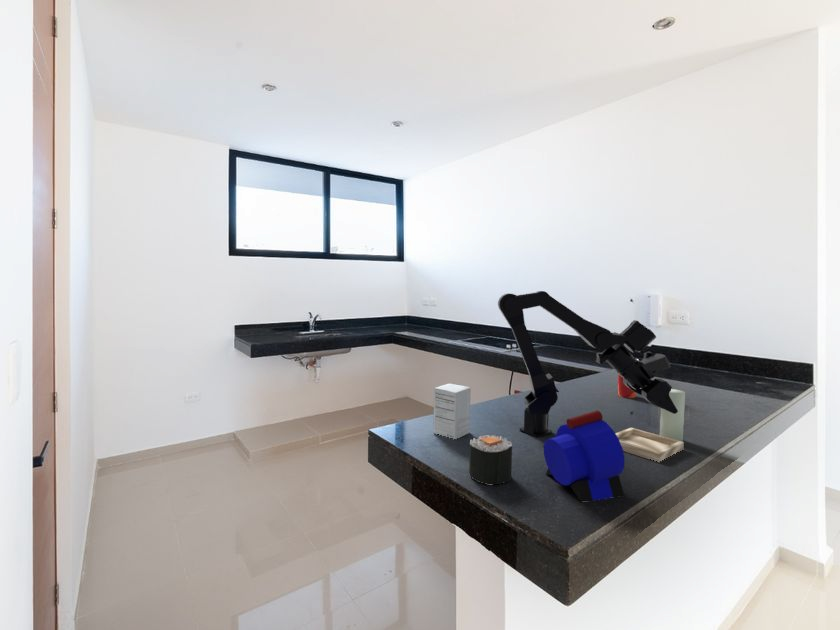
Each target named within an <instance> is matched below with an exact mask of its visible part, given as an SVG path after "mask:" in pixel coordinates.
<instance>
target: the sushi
mask: <svg viewBox="0 0 840 630" xmlns="http://www.w3.org/2000/svg"><path fill="white" fill-rule="evenodd" d="M469 441H470V442H469V460H468V461H469V462H468V463H469V465H468V466H469V467H468V468H469V469H468V470H469V471H468V475H469V474H470V476H471V477H473V478H474V479H476V480H478V481H480V482H483V483H487V484H499V485H501V484H500V483H503V482H507V481H509V480H510V479H511V480H512V471H513V470H512V467H513V464H512V463H513V460H512V459H513V442H511V441H510V440H508V439H507V438H506V437H504V438H503V436H501V435H500V436H499V435H498V436H496V435H493V434H492V435H489V434H487V435H485V434H484V435H479V437H478V438H475V437H473V439H470V440H469ZM470 476H469V477H470ZM511 480H510V481H511ZM510 481H509V482H510ZM507 483H508V482H507ZM503 484H504V483H503Z"/></svg>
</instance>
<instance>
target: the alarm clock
mask: <svg viewBox="0 0 840 630" xmlns="http://www.w3.org/2000/svg"><path fill="white" fill-rule="evenodd" d="M603 419H604V418H603V414H602V412H601V411H600V410H595V411H591V412H588V413H584V414H580V415H577V416H574V417H570V418H567V419H566V424H562V425H560V426H559V427H558V429H557V431H556V434H555V435H556V436H554V437H550V438H549V439H546V440H545V441H544V444H543V455H544V460H545V463H546V466H547V468H548V469H547V470H546V473H545V475H546V474H547V475H548V476H549V475H551V476H552V477H553V479H555V481H557V483H559V484H560V485H562V486H570V487H569V488H571V490H572V491H573V492H574V494H575V496H576V497H577V498H578V500H579V501H580V500H581V501H592V502H594V501H593V500H598V501H600V500H599V499H605V498H610V497H617V498H619V497H618V496H624V497H625V491H624V490H623V489H624V488H623V486H622V483H621V479H620V476H619V475H621V474H623V471H624V468H625V455H624V451H623V449H622V446H621V444H620V441H619V439H618V437H617V435H616V434H615V433H616V432H615V431H614V429H613V428H612V427H611V426H610V425H609V424H608V423H607V422H606V421H605V420H603ZM547 475H546V476H547ZM605 500H606V499H605ZM581 501H580V502H581Z"/></svg>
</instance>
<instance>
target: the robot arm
mask: <svg viewBox="0 0 840 630" xmlns="http://www.w3.org/2000/svg"><path fill="white" fill-rule="evenodd" d="M497 306H498V310H500V313H501V314H502V315H503V318H504V319H505V320H506V322H507V324H508V326H509V327H510V328H511V331H512V334H513V337H514V339H515V341H516V343H517V346H518V348H519V352H520V354H521V356H522V359H523V362H524V364H525V366H526V369H527V372H528V376H529V384H530V390H531V391H530V392H529V393H528V394H527V395H525V396H524V397H523V400H524V404H525V406H526V407H525V409H524V415H523V427H519V429H518V430H519V431H520V432H523V433H526V434H528V435H532V436H534V437H536V438H537V437H538V438H539V437H542V436H546V435H548V434H551V433H553V430H552V429H550V428H549V415H550V414H549V412H550V410H551V408H552V407H553V406H555V404H556V403H557V402H558V400H559V399H558V398H559V397H558V393H559V392H560V390H558V389H557V386H556V384H555V378H554V376H552V375H551V374H550V373H547V374H546V373H545V372H544V370H543V368H542V364H541V362H540V360H539V357H538V355H537V352H536V349H535V347H534V346H535V345H534V344H533V341H532V339H531V336H530V334H529V332H528V329H527V326H526V322H525V316H524V310H525V309H530V308H535V307H540V308H542V309H543V310H545V311H546V312H548V313H550V314H551V316H552V315H553V316H554V317H555V318H557V319H558V320H559V321H561V322H562V323H564V324H565V325H567V326H568V327H569V328H571V329H573V330H574V331H575V332H576V334H578V336H579V337H580V338H581V339H582V340H583V341H584V342H585V343H586V344H587V345H588V346H590V347H592V348H594V349H596V350H599V351H602V352H596V353H595V355H596V359H595V362H597V363H598V364H600V365H603V363H605V362H606V363H608V364H609V365H610V366H611V367H612V368H613V370H614V371H616V373H617V375H618V374H619V375H620V376H621V377H623V383H624V384H625V385H626V386H627V387H628V388H630V389H631V390H632V391H634V392H636V394H637V395H640V396H642V397H643V398H644V399H645V400H646V401H647V402H649V403H650V405H653V406H656V407H658V408H660V409H661V408H662V409H665V410H667V411H669V412H671V413H673V414H676V413H677V412H678V410H677V408H676V407H675V405H674V403H673V402H672V400H671V398H670V396H669V393H670V391H671V389H673V387H672V385H671V384H670V383H669V382H667V381H666V380H664V379H662V378H655V377H656V374H655V373H658V372H661V371H663V370H667V369H670V368H671V364H670V362H669V360H668V358H667V356H666V355H664V354H662V353H655V354H654V353H653V352H651V351H647V352H644V353H643V358H642V359H641V360H639V359H638V358H635V357H634V355H633V354H632V353H634V352H637V353H641V352H642V351H643V350H644V349H645V348H646V347H648V345H650V344H651V343H652V342H653V341H654V340H655V339H657V336H656V334H655V333H654V332H653V331H652V330H651V329H650V328H648V327H647V326H645V325H643V324H642V323H641V322H640V321H638V320H635V319H634V320H632V321H631V322H630V324H629V325H628V326H626V328H625V329H624V330H622V331H621V332H620V333H618V332H616V331H615V332H611V330H609V329H607V328H605V327H603V326H601V325H599V324H596V323H594V322H592V321H589V320H587V319H584V317H582V316H580V315H579V314H577V313H576V312H574V311H573V310H571V308H568V307H567V306H566V305H564V304H563V303H562V302H560V301H559V300H557V299H555V298H554V297H552V296H551V295H550V294H549V293H548V292H546V291H542V290H538V291H536V292H531V293H525V294H518V295H517V294H515V293H504V294H502V295H501V296H500V297H499V299H498V301H497ZM630 352H631V353H630ZM637 359H638V360H639V361H638V360H637ZM652 379H653V380H652Z"/></svg>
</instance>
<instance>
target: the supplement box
mask: <svg viewBox="0 0 840 630" xmlns="http://www.w3.org/2000/svg"><path fill="white" fill-rule="evenodd" d="M471 388H472V387H470V386H466V385H460V384H454V383H446V384H442V385H440V386H436V387H434V388H433V434H434V433H436V434H435V435H437V434H439V435H438V436H440V435H442V436H441V437H443V436H446V437H445V438H447V437H449V438H448V439H450V438H453V439H452V440H454V439H456V440H458V439H460V438H461V437H463V436H465V435H468V434H470V433H471V391H472V390H471ZM457 438H458V439H457Z"/></svg>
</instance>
